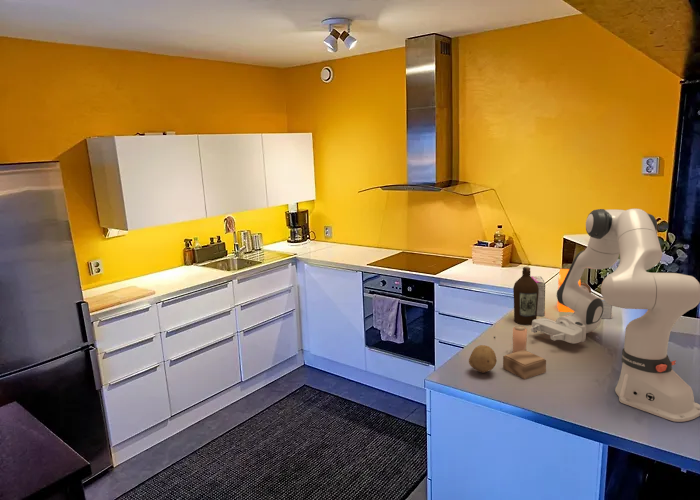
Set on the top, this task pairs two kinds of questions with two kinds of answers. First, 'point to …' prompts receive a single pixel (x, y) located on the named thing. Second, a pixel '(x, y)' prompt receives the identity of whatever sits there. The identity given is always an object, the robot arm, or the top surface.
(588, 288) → the tin
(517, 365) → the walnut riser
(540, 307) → the candy bar box
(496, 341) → the top surface
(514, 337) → the terracotta jar
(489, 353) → the natural sponge
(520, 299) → the olive oil
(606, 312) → the medicine box
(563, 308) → the orange juice
